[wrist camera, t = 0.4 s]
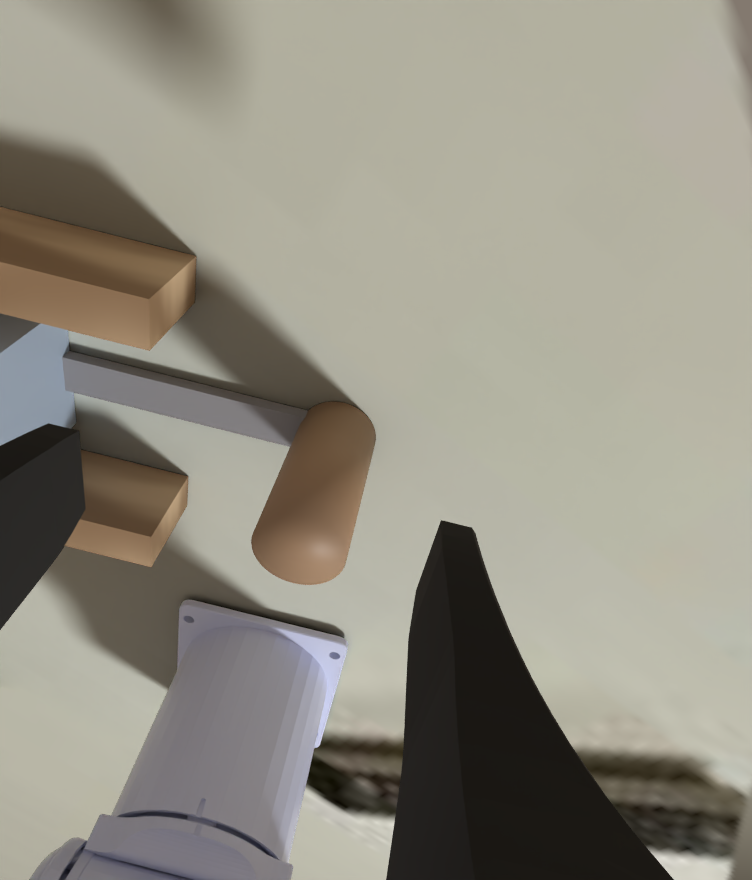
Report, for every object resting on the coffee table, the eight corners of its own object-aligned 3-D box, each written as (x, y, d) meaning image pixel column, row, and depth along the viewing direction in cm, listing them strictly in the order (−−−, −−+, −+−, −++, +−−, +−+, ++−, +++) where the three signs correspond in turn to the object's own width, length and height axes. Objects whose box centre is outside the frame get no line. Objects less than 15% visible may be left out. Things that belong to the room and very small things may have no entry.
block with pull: (362, 494, 25) (331, 617, 20) (-50, 391, 25) (-181, 488, 20) (389, 386, 22) (362, 499, 17) (-77, 269, 22) (-240, 348, 17)
